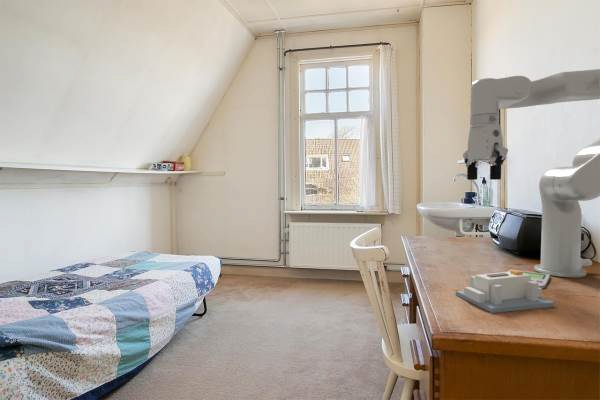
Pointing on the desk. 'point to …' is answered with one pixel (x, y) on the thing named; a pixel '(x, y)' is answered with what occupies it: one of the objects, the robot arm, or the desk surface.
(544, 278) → the handheld gaming console
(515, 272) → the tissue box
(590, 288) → the desk surface
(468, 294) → the bracket board
